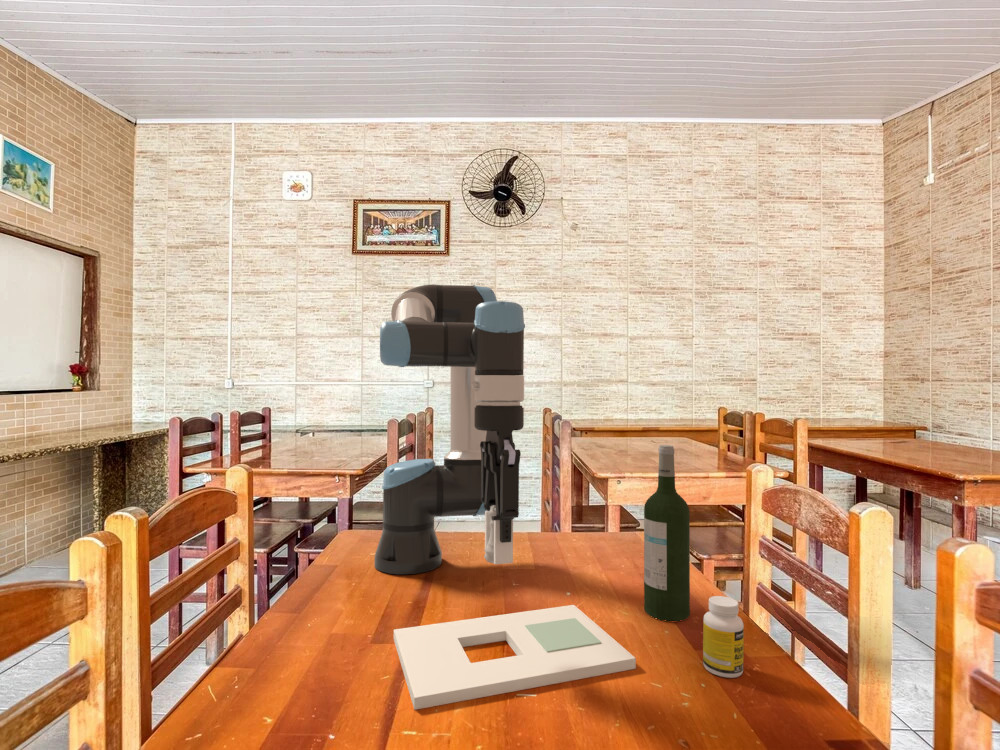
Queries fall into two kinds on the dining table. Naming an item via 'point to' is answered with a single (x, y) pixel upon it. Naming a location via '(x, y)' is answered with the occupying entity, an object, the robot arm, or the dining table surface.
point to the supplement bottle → (723, 638)
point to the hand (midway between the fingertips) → (498, 557)
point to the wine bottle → (666, 546)
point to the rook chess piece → (490, 547)
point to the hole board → (533, 637)
